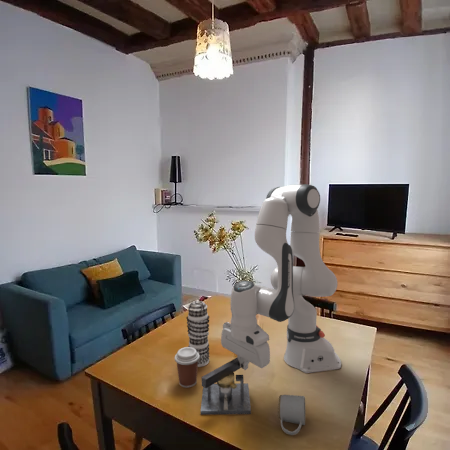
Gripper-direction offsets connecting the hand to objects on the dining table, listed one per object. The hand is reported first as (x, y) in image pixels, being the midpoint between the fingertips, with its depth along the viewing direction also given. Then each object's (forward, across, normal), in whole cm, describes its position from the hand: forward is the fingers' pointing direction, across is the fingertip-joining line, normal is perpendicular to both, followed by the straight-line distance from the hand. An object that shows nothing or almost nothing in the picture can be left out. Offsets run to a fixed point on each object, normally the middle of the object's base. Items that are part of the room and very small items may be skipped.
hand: (244, 368), depth 112 cm
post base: (+10, -2, -6) cm, 12 cm away
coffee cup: (+10, -19, -10) cm, 24 cm away
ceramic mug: (+10, +20, +1) cm, 22 cm away
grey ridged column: (+10, -27, +2) cm, 29 cm away
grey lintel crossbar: (+3, -2, -6) cm, 8 cm away
